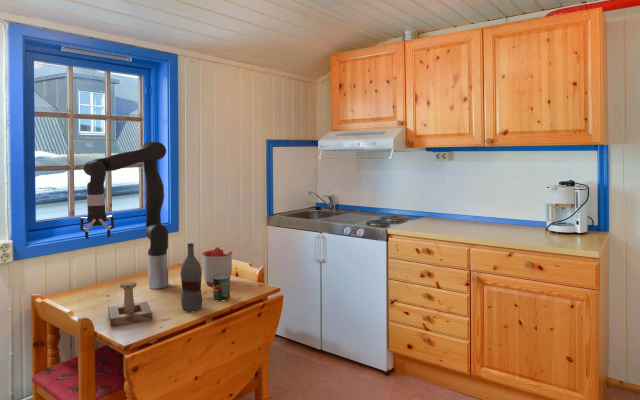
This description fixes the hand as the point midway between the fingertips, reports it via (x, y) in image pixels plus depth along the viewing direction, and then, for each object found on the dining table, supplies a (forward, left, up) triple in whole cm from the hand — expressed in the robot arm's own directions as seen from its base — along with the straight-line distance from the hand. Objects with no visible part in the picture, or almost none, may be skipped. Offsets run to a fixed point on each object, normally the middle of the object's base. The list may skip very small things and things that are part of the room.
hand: (98, 238), depth 215 cm
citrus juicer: (-58, -4, -30) cm, 66 cm away
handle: (-10, +29, -30) cm, 43 cm away
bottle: (-36, +30, -30) cm, 56 cm away
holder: (-10, +29, -30) cm, 43 cm away
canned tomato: (-52, +22, -30) cm, 64 cm away
